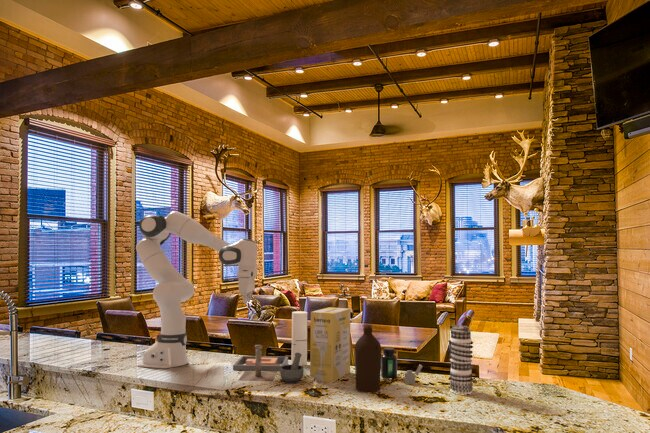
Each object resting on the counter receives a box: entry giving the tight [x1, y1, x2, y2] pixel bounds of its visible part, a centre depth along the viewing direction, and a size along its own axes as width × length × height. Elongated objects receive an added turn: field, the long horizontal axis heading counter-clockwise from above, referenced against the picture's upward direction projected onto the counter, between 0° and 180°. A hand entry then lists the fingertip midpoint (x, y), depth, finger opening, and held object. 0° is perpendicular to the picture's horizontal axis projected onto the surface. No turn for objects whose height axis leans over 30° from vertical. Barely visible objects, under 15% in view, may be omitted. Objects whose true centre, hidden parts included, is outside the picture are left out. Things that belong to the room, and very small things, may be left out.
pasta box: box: [309, 306, 351, 384], centre depth 204 cm, size 18×10×28 cm, turn 154°
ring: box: [245, 358, 278, 365], centre depth 215 cm, size 14×10×3 cm
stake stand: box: [237, 344, 278, 382], centre depth 197 cm, size 14×14×14 cm
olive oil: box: [353, 323, 382, 393], centre depth 186 cm, size 11×11×25 cm
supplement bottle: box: [380, 347, 398, 379], centre depth 203 cm, size 7×7×12 cm
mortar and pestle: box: [279, 353, 305, 384], centre depth 190 cm, size 11×9×12 cm
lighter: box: [404, 364, 423, 385], centre depth 192 cm, size 7×2×8 cm, turn 75°
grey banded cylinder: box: [448, 324, 474, 395], centre depth 183 cm, size 9×9×25 cm
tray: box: [232, 355, 289, 372], centre depth 215 cm, size 22×18×4 cm
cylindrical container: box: [290, 310, 308, 367], centre depth 219 cm, size 7×7×25 cm
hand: (247, 301), depth 227 cm, fingers open, 8 cm apart
